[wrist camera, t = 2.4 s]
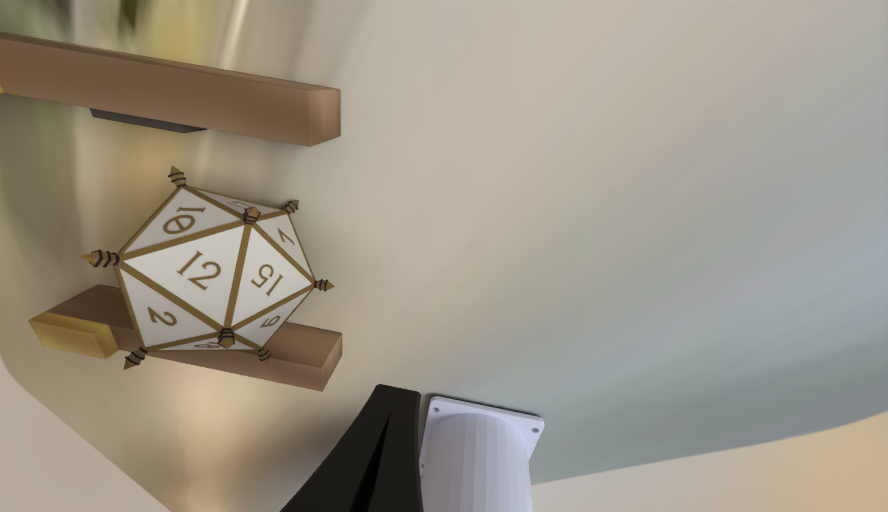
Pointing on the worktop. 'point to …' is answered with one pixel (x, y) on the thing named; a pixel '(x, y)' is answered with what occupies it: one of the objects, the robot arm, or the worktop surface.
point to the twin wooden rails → (180, 110)
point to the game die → (210, 274)
